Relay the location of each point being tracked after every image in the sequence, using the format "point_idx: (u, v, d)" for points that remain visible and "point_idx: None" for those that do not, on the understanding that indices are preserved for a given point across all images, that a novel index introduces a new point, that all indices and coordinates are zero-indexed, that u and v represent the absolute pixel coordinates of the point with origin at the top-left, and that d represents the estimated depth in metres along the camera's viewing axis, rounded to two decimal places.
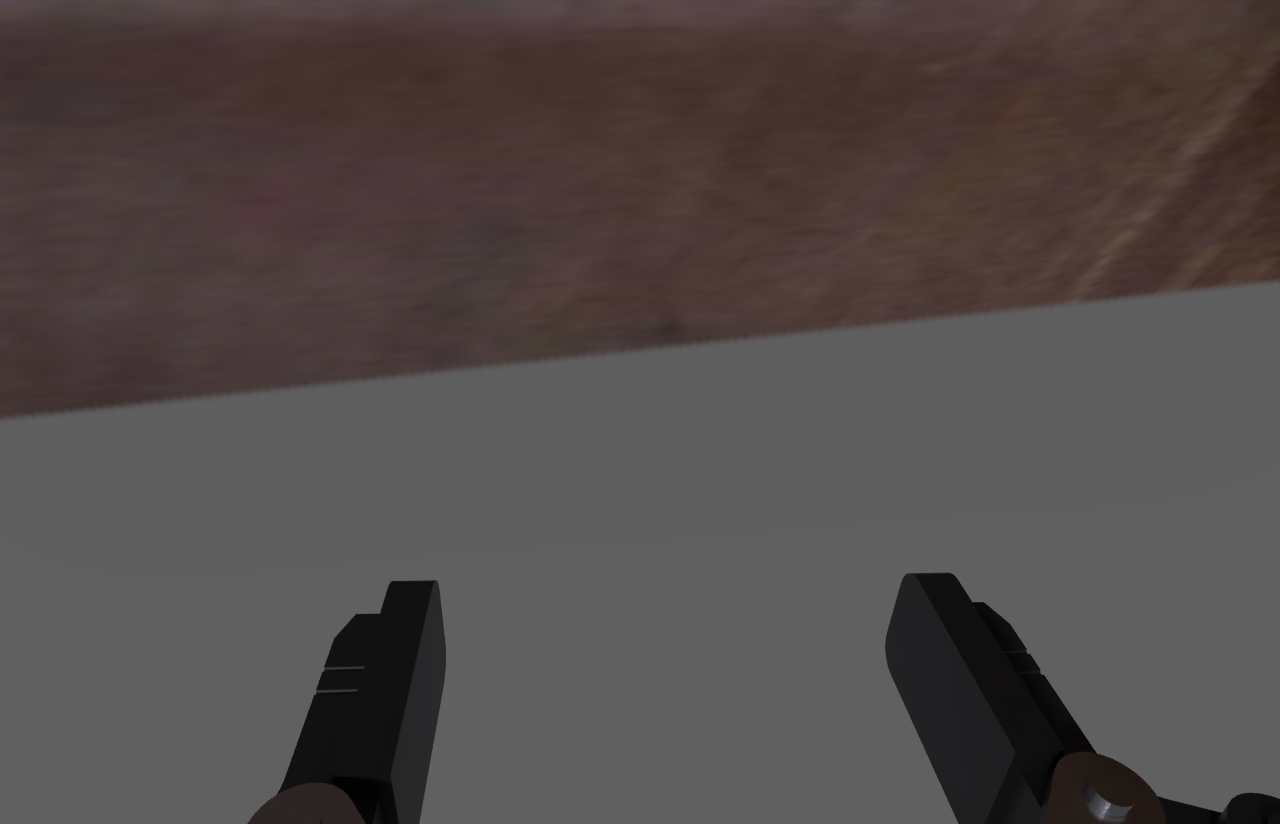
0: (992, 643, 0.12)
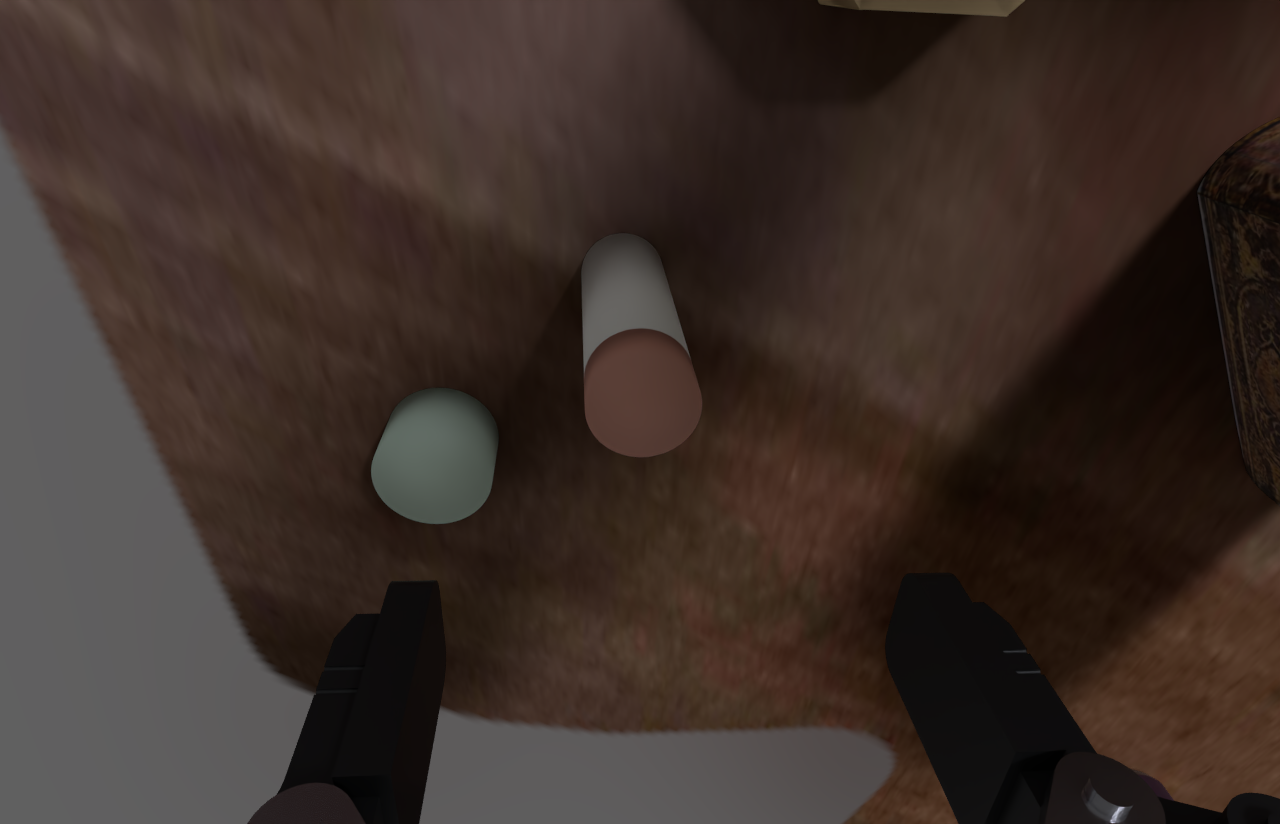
0: (992, 643, 0.12)
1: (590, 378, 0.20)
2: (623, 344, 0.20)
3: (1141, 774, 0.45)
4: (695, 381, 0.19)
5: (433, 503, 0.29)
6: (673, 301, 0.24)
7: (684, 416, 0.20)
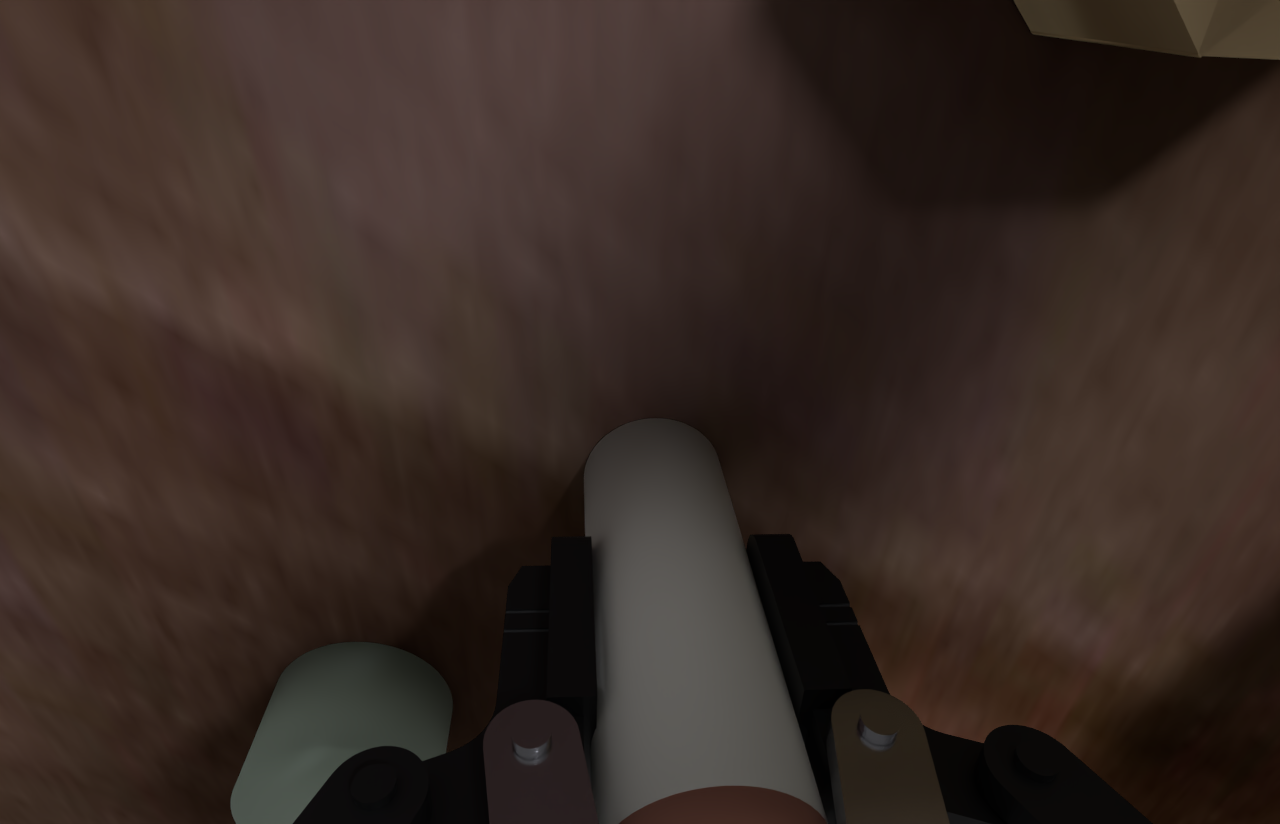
0: (810, 595, 0.12)
1: None
2: None
3: None
4: None
5: None
6: None
7: None
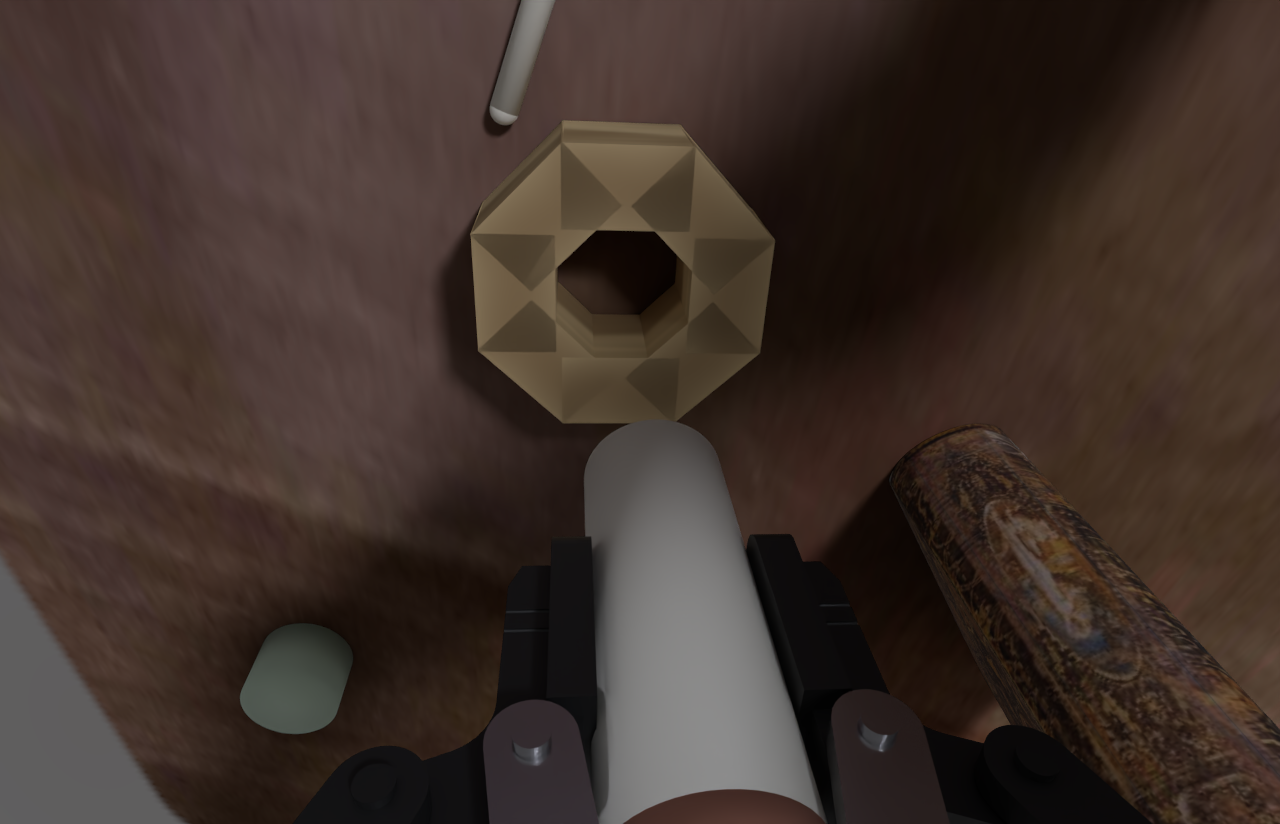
0: (810, 595, 0.12)
1: None
2: None
3: None
4: None
5: (292, 720, 0.37)
6: (757, 589, 0.13)
7: None
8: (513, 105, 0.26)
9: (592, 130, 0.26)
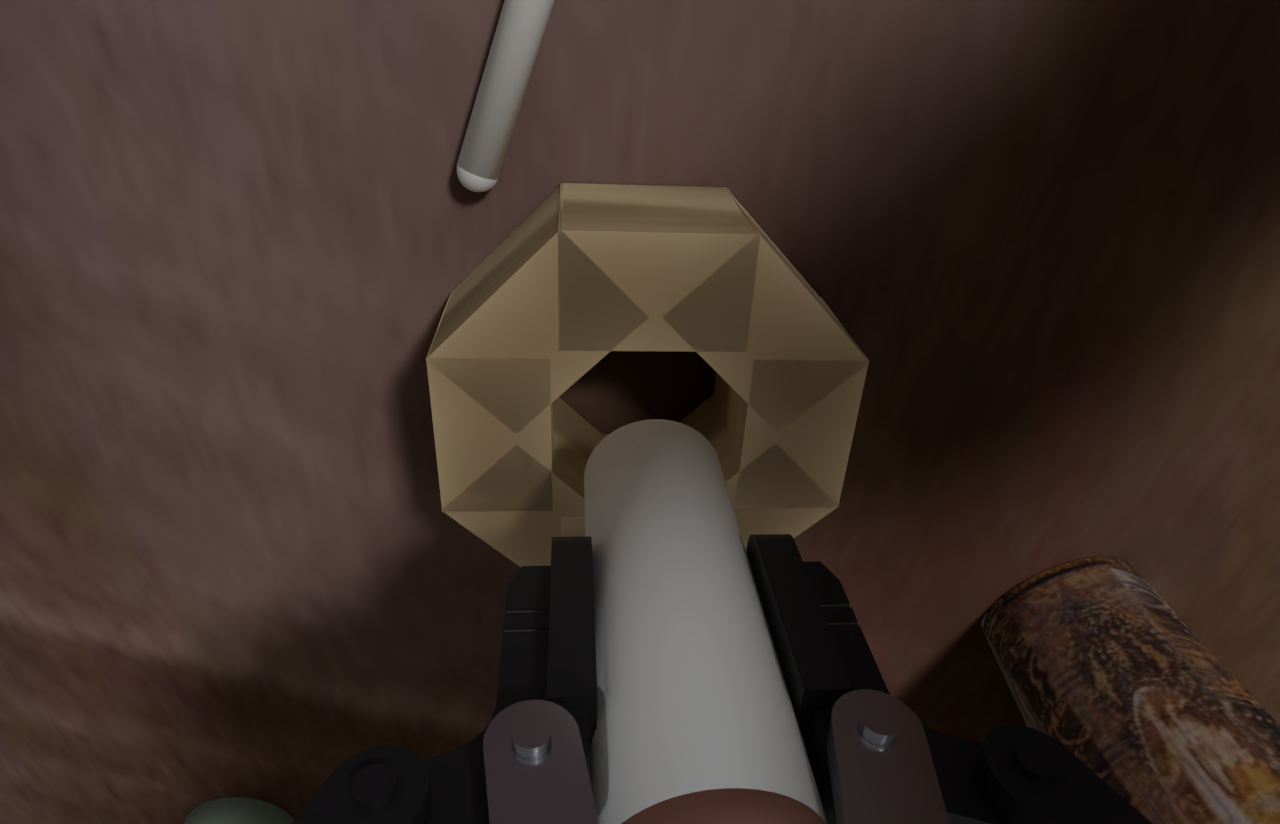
0: (810, 595, 0.12)
1: None
2: None
3: None
4: None
5: None
6: (757, 589, 0.13)
7: None
8: (490, 165, 0.18)
9: (604, 202, 0.18)
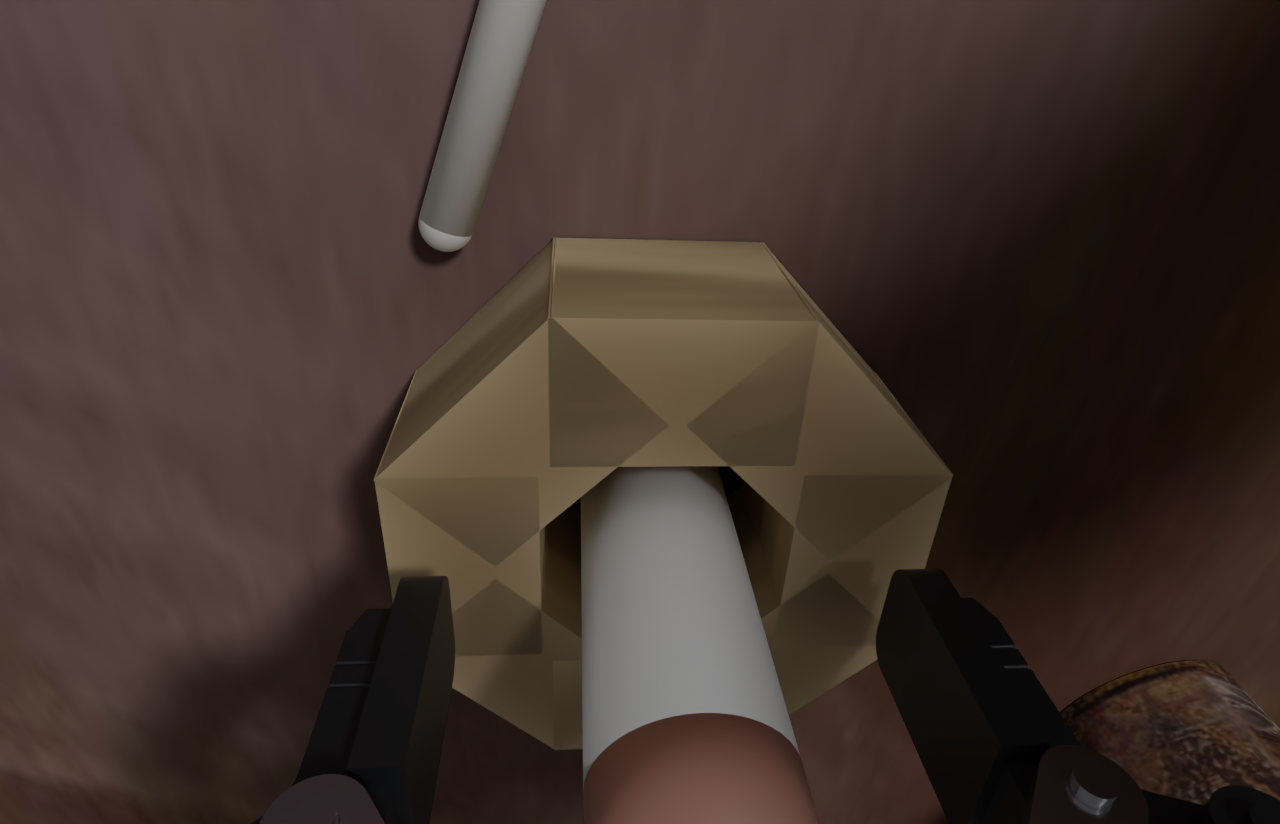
0: (980, 638, 0.12)
1: None
2: (668, 778, 0.09)
3: None
4: None
5: None
6: None
7: None
8: (461, 219, 0.14)
9: (609, 269, 0.14)
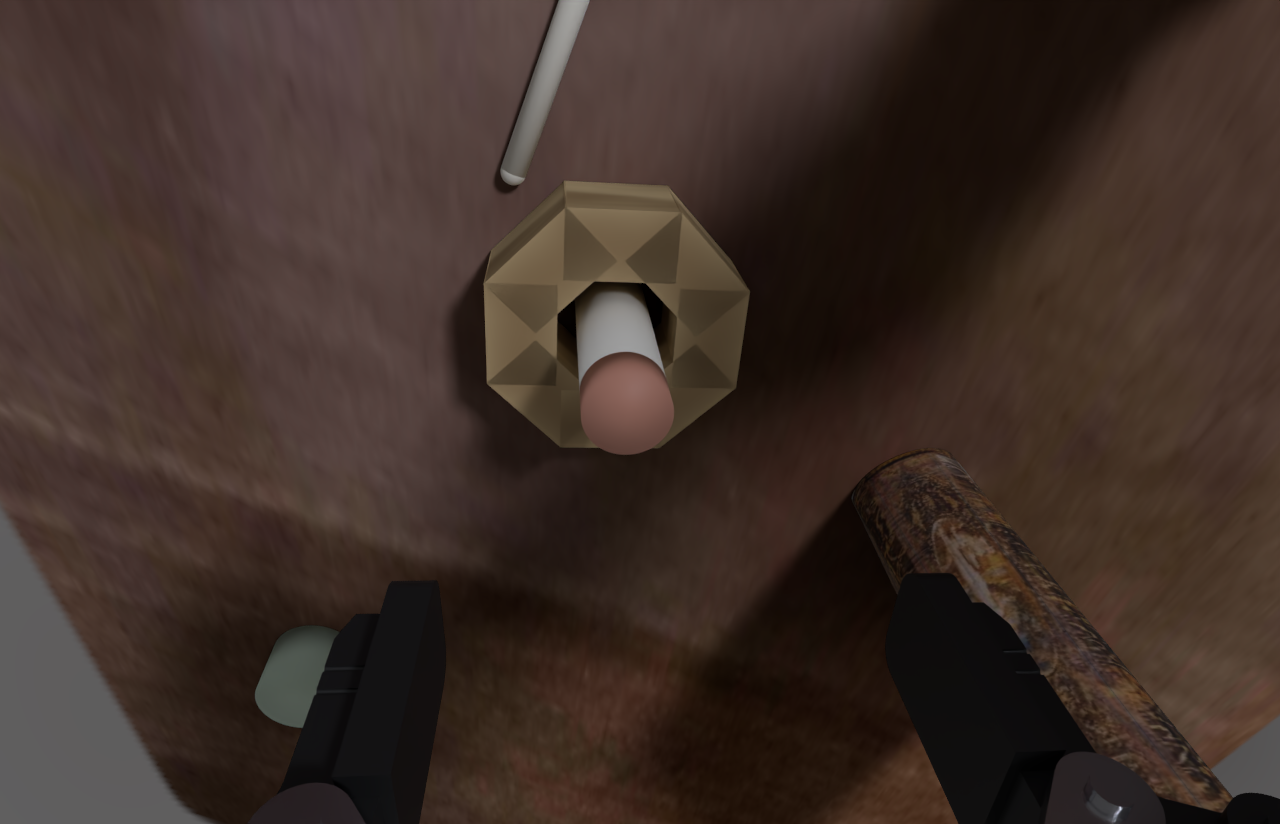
0: (992, 643, 0.12)
1: (585, 391, 0.25)
2: (611, 365, 0.25)
3: None
4: (668, 395, 0.24)
5: (302, 715, 0.40)
6: (652, 327, 0.30)
7: (659, 422, 0.25)
8: (521, 169, 0.29)
9: (591, 193, 0.29)
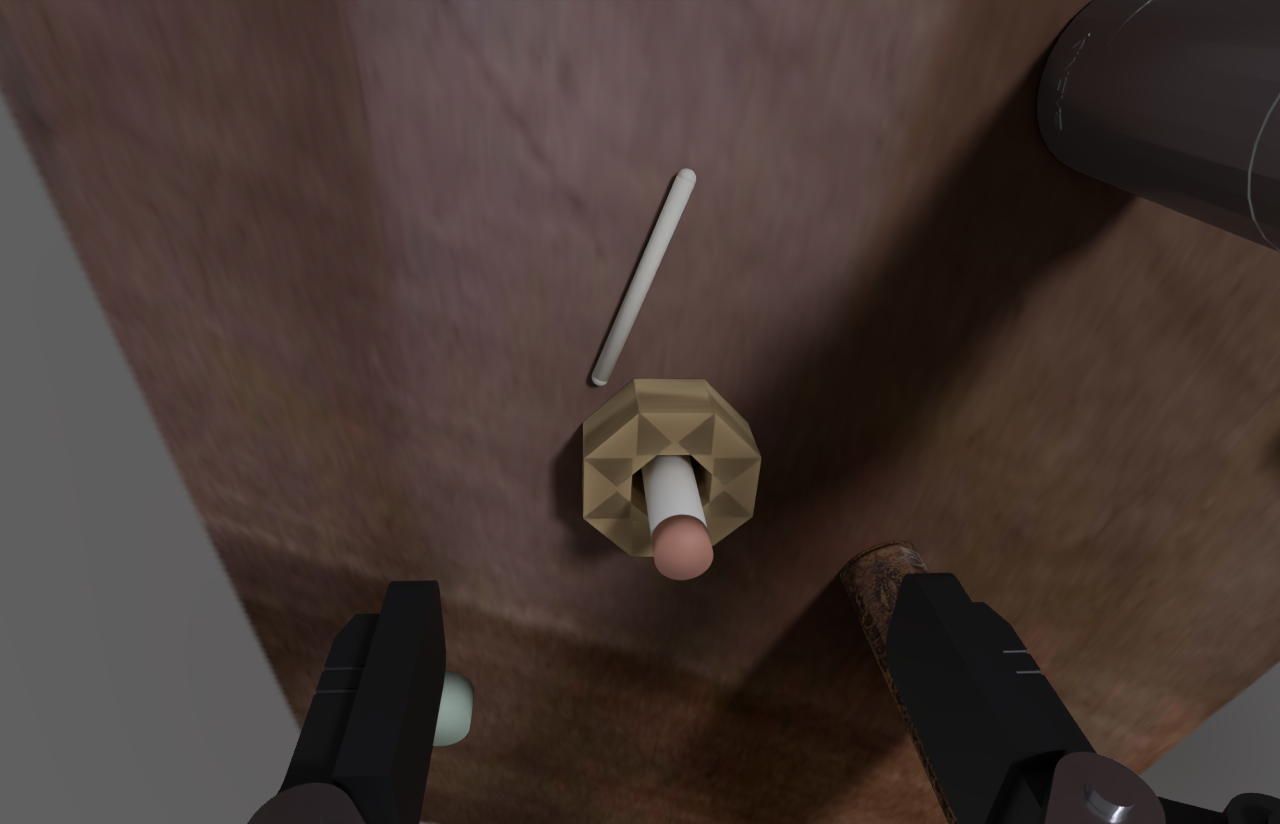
0: (992, 643, 0.12)
1: (657, 543, 0.39)
2: (673, 525, 0.39)
3: None
4: (709, 545, 0.39)
5: (438, 737, 0.55)
6: (695, 481, 0.44)
7: (704, 561, 0.39)
8: (606, 377, 0.44)
9: (653, 393, 0.43)
